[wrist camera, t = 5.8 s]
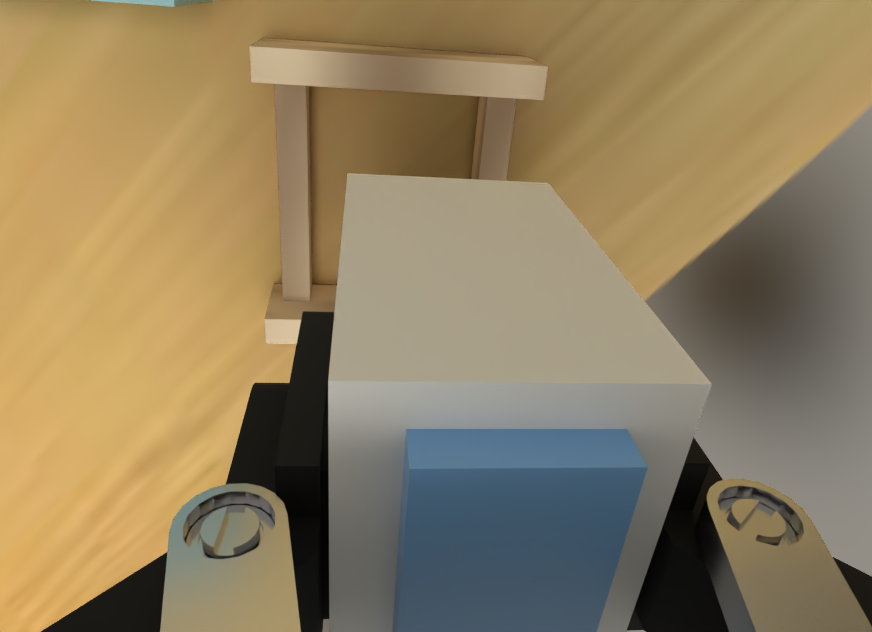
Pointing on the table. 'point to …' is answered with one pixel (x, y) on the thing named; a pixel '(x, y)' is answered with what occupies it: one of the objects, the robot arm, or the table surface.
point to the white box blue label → (494, 415)
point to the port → (159, 2)
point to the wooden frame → (372, 70)
